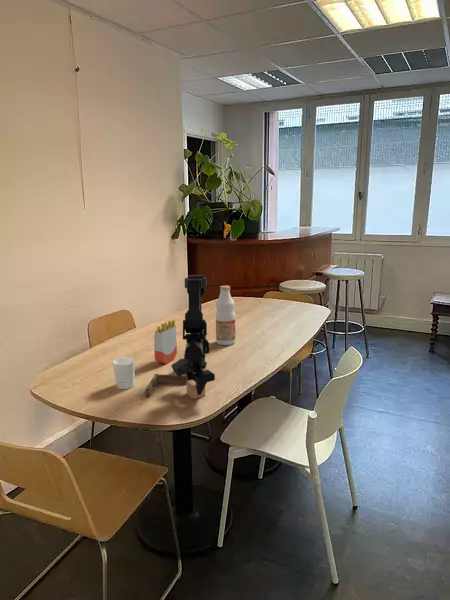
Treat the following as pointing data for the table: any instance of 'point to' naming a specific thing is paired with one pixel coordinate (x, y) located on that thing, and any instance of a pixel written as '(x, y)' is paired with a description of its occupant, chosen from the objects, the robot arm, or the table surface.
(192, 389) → the light brown cube
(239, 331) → the table surface
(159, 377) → the walnut fence
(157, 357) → the french fries container
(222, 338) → the fruit juice
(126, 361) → the white cup
